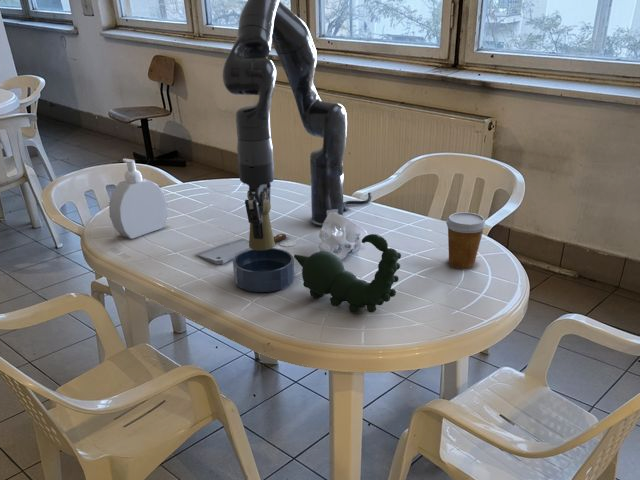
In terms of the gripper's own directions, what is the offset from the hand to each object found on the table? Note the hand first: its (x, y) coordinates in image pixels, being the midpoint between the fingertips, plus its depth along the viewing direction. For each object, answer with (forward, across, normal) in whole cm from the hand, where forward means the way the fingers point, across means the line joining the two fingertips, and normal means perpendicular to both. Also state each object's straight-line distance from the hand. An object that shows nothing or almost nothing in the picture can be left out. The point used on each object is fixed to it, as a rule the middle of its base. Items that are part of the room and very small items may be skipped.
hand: (261, 234), depth 141 cm
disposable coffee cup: (+12, -16, +47) cm, 51 cm away
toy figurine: (+12, +9, +20) cm, 25 cm away
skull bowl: (+12, -19, +16) cm, 28 cm away
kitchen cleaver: (+12, -19, -10) cm, 24 cm away
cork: (+3, 0, 0) cm, 3 cm away
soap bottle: (+12, -27, -42) cm, 51 cm away
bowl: (+12, 0, 0) cm, 12 cm away
